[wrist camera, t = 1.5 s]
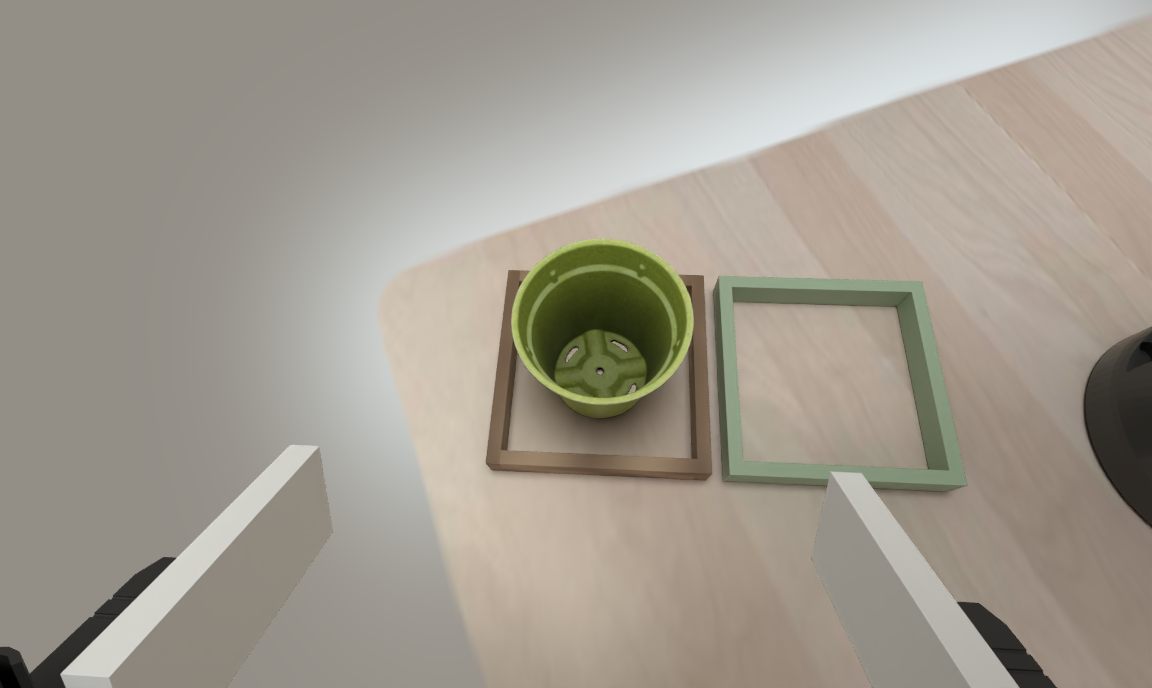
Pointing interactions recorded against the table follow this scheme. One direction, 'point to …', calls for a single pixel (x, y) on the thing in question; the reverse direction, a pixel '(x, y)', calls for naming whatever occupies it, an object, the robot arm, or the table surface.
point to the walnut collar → (595, 463)
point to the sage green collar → (921, 363)
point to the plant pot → (602, 324)
